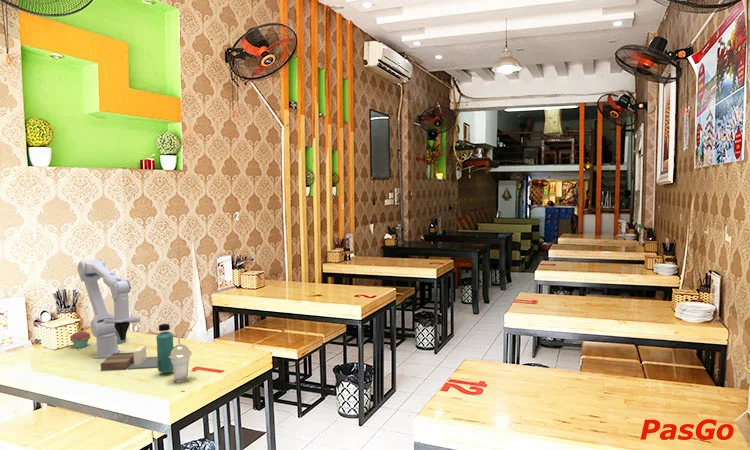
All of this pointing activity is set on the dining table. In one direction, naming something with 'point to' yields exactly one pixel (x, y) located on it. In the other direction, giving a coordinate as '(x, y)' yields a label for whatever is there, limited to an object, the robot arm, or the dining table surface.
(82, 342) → the cupcake
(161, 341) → the beverage bottle
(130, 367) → the mat
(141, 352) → the tile
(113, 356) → the board
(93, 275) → the robot arm
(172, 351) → the cup with straw
